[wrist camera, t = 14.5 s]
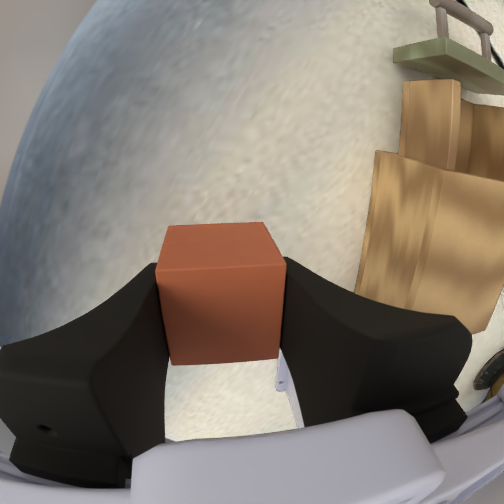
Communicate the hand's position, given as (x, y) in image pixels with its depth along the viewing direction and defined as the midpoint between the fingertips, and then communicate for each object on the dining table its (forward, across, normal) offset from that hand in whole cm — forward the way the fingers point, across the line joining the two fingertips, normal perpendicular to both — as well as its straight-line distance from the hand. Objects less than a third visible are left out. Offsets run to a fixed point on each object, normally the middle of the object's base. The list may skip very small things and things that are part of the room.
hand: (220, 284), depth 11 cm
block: (+1, 0, 0) cm, 1 cm away
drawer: (+9, -17, -9) cm, 21 cm away
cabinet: (+10, -17, +2) cm, 20 cm away
